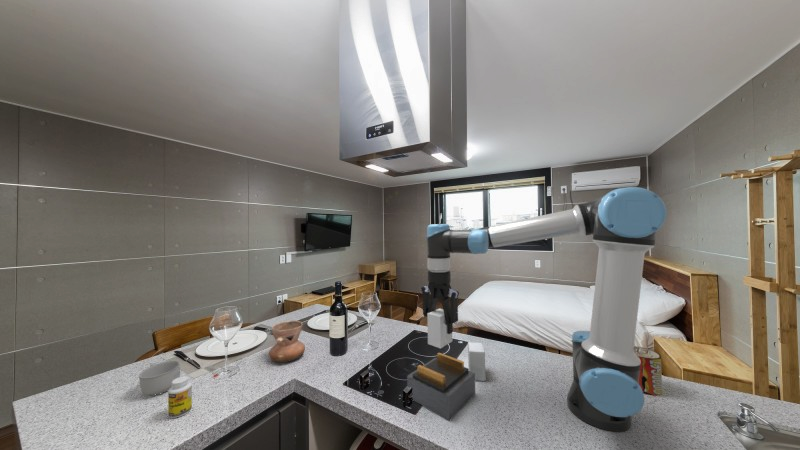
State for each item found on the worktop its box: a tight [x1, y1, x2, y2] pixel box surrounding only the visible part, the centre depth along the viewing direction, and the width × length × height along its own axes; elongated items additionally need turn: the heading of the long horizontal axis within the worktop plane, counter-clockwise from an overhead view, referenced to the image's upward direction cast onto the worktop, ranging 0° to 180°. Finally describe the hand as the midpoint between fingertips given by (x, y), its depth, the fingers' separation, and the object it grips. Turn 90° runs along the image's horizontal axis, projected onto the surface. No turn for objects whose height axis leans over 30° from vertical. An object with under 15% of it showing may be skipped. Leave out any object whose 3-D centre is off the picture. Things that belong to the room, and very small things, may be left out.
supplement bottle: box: [167, 375, 193, 419], centre depth 81 cm, size 6×6×10 cm
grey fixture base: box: [406, 352, 476, 422], centre depth 87 cm, size 16×16×10 cm
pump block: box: [426, 308, 453, 349], centre depth 87 cm, size 5×7×10 cm
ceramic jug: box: [268, 320, 306, 363], centre depth 115 cm, size 18×14×14 cm
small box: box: [467, 341, 487, 382], centre depth 98 cm, size 8×6×10 cm
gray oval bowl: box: [138, 359, 181, 396], centre depth 94 cm, size 14×11×8 cm
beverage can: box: [633, 345, 663, 397], centre depth 89 cm, size 9×9×12 cm
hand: (440, 340), depth 87 cm, fingers closed on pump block, 5 cm apart
